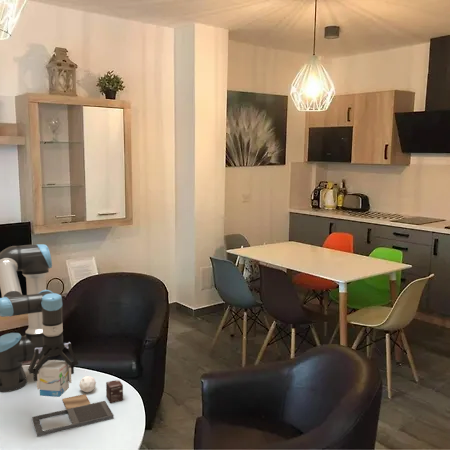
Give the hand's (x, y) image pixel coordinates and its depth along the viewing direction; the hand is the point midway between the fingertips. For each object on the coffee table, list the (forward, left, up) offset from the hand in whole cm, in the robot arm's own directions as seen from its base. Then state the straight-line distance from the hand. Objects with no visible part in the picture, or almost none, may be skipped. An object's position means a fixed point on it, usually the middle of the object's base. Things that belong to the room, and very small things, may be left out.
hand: (54, 384), depth 202 cm
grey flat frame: (0, +7, -17) cm, 18 cm away
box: (-9, +27, -17) cm, 33 cm away
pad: (-12, +11, -17) cm, 23 cm away
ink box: (0, 0, -3) cm, 3 cm away
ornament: (-21, +18, -17) cm, 32 cm away
